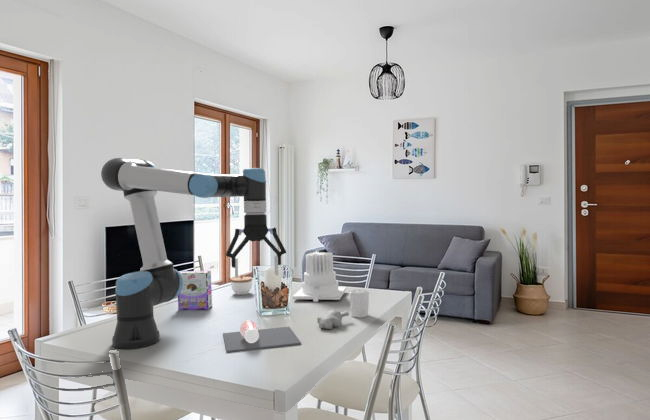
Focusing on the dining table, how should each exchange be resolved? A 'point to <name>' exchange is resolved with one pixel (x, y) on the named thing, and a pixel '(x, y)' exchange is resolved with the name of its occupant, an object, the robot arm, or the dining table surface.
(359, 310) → the white cup
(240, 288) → the lidded jar
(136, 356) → the dining table surface
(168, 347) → the dining table surface
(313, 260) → the white finned lamp
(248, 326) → the beverage cup
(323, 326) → the bunny figurine
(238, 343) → the mat
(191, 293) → the candy box
